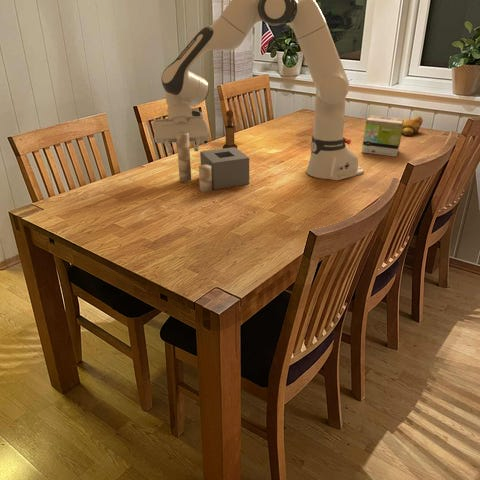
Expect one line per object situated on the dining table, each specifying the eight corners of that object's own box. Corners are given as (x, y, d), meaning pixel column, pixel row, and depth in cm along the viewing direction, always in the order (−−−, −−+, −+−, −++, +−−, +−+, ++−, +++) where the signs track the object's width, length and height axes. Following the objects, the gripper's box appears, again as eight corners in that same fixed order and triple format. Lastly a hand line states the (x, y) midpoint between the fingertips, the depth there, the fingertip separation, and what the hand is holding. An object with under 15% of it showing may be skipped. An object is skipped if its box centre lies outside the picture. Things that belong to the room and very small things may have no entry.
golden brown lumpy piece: (413, 138, 227) (415, 121, 223) (393, 134, 232) (396, 118, 228) (421, 132, 236) (424, 116, 232) (402, 129, 241) (405, 113, 237)
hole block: (234, 171, 185) (234, 147, 181) (249, 183, 174) (249, 157, 169) (201, 176, 181) (200, 151, 176) (213, 189, 169) (213, 162, 165)
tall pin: (189, 178, 179) (186, 131, 171) (192, 182, 176) (190, 134, 167) (178, 179, 178) (175, 133, 169) (181, 183, 174) (178, 136, 166)
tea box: (361, 153, 206) (365, 119, 199) (364, 146, 214) (369, 114, 207) (396, 157, 201) (402, 123, 194) (399, 150, 209) (404, 117, 202)
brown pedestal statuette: (235, 154, 205) (235, 112, 196) (221, 153, 206) (220, 111, 198) (238, 149, 211) (238, 109, 202) (224, 148, 212) (224, 108, 203)
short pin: (209, 187, 171) (208, 164, 167) (213, 191, 167) (213, 167, 163) (198, 189, 169) (197, 165, 165) (202, 193, 166) (201, 169, 162)
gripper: (151, 114, 170) (154, 149, 167) (207, 112, 174) (211, 145, 170) (152, 124, 176) (155, 157, 173) (206, 121, 180) (210, 153, 176)
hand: (183, 151), depth 171 cm, fingers open, 8 cm apart
